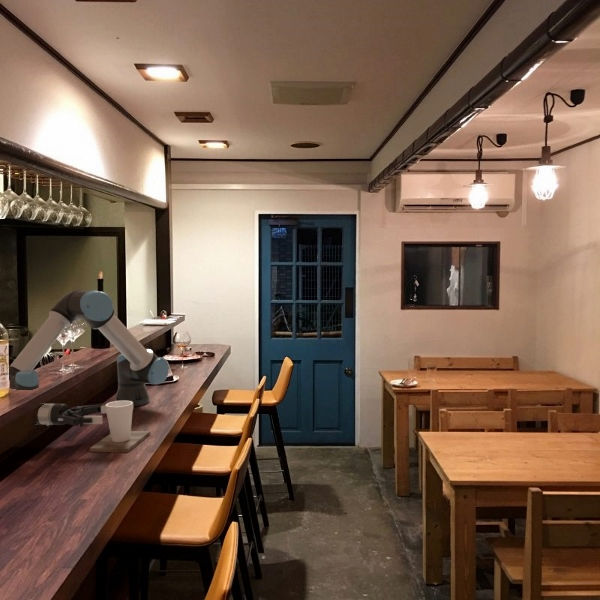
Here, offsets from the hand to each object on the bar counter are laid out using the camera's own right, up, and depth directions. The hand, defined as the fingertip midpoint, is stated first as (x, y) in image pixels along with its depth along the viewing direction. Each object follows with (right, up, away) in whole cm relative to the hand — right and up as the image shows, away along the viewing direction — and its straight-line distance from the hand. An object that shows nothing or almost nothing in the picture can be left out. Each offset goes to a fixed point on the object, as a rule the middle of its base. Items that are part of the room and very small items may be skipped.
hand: (110, 414), depth 219 cm
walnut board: (+4, -10, +1) cm, 11 cm away
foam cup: (+4, -9, +1) cm, 10 cm away
